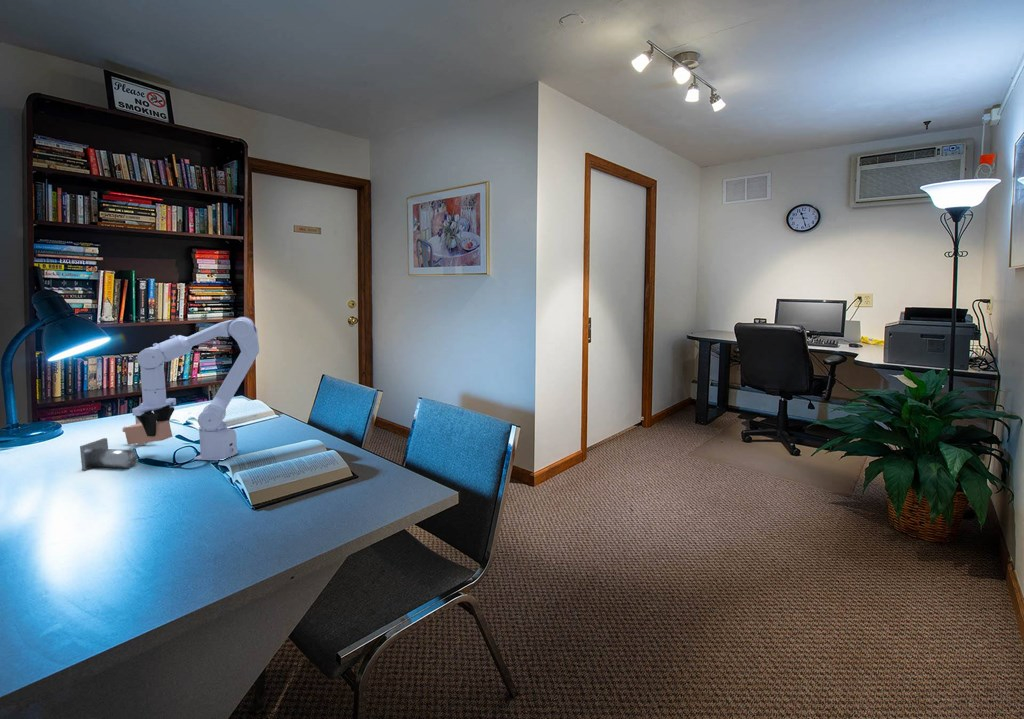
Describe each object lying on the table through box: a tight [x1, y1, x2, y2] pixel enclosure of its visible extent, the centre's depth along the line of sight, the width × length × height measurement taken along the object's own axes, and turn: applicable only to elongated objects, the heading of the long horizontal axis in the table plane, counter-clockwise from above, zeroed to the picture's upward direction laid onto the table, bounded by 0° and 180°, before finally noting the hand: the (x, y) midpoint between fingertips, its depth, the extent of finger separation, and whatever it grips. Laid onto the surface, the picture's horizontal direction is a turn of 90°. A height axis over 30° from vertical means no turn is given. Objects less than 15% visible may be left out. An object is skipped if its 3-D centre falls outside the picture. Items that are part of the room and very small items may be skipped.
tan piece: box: [124, 420, 173, 445], centre depth 155 cm, size 11×8×5 cm
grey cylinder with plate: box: [79, 437, 138, 472], centre depth 149 cm, size 11×8×7 cm
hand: (157, 433), depth 153 cm, fingers closed on tan piece, 4 cm apart
